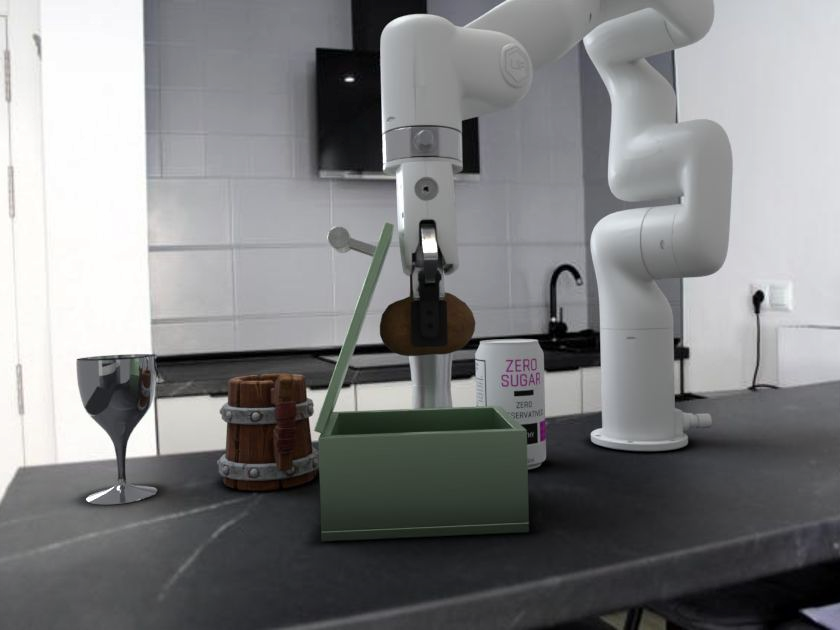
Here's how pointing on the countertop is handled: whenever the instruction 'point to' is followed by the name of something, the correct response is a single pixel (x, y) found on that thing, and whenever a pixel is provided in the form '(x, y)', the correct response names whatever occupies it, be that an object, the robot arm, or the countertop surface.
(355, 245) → the lid
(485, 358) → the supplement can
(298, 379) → the mug
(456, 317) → the potato
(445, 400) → the silver metal bottle
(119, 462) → the wine glass
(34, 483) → the countertop surface
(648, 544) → the countertop surface
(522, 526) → the green box
